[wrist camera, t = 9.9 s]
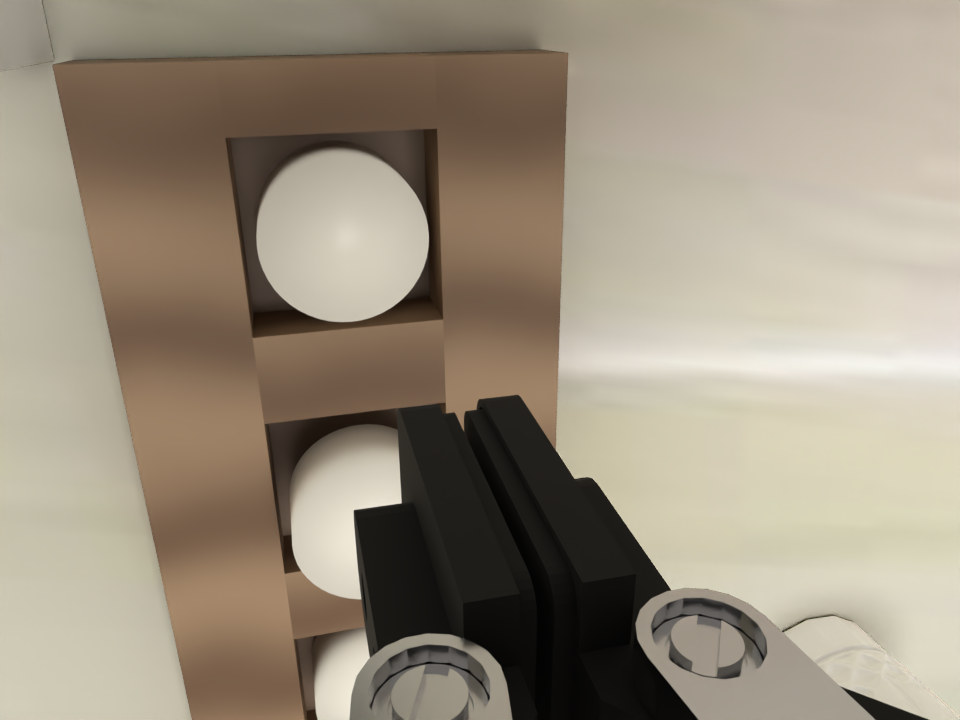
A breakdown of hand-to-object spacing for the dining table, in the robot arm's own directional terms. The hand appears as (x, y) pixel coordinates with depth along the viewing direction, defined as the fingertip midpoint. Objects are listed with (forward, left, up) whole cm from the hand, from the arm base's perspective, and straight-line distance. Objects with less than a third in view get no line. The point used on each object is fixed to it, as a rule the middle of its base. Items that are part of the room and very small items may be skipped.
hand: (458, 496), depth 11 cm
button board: (+9, 0, -17) cm, 19 cm away
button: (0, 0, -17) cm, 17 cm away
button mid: (+9, 0, -15) cm, 17 cm away
